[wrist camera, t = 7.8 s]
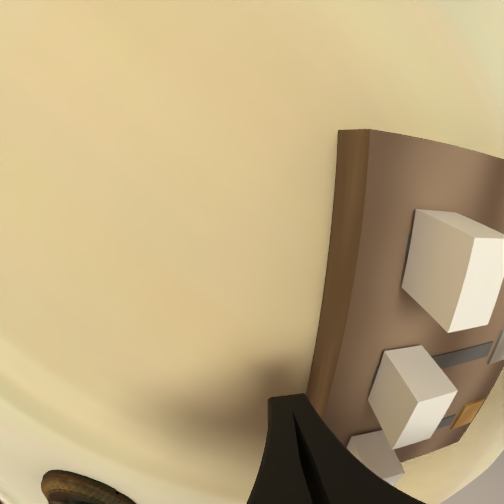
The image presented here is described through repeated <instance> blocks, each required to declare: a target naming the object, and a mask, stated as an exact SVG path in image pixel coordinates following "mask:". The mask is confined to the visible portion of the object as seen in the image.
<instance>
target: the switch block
mask: <svg viewBox="0 0 504 504" xmlns="http://www.w3.org/2000/svg"><path fill="white" fill-rule="evenodd" d="M416 209H422V210H434V211H446V212H456V213H458V214H461V215H463V216H465V217H467V218H470V219H472V220H474V221H476V222H479V223H481V224H483V225H485V226H487V227H489V228H492V229H494V230H496V231H498V232H500V233H502V234H504V159H501V158H497V157H494V156H491V155H487V154H484V153H480V152H477V151H473V150H469V149H465V148H461V147H457V146H453V145H449V144H445V143H441V142H436V141H432V140H427V139H422V138H417V137H412V136H407V135H402V134H396V133H390V132H384V131H378V130H371V129H357V130H338V149H337V166H336V181H335V194H334V205H333V216H332V227H331V236H330V246H329V255H328V263H327V271H326V279H325V287H324V294H323V301H322V308H321V315H320V321H319V328H318V334H317V340H316V346H315V352H314V358H313V363H312V369H311V374H310V379H309V385H308V390H307V395H306V396H307V398H308V399H309V401H310V403H311V404H312V406H313V407H314V409H315V410H316V412H317V413H318V415H319V416H320V417H321V419H322V420H323V421H324V423H325V424H326V425H327V427H328V428H329V429H330V430H331V431H332V433H333V434H334V435H335V436H336V437H337V439H338V440H339V441H340V442H341V443H342V444H343V445H344V446H345V447H346V448H347V446H348V444H349V441H350V439H351V437H352V436H357V435H362V434H367V433H371V432H376V431H380V430H382V427H381V425H380V423H379V421H378V419H377V417H376V415H375V413H374V411H373V409H372V407H371V405H370V403H369V401H368V398H369V395H370V392H371V390H372V387H373V384H374V381H375V378H376V375H377V372H378V369H379V366H380V363H381V360H382V357H383V354H384V351H388V350H395V349H401V348H407V347H413V346H419V345H422V346H423V347H424V349H425V350H426V351H427V352H428V354H429V355H430V356H431V357H432V358H433V360H434V361H435V362H436V363H437V365H438V366H439V367H440V368H441V370H442V371H443V372H444V373H445V375H446V376H447V377H448V378H449V380H450V381H451V382H452V383H453V385H454V386H455V387H456V389H457V390H458V391H457V393H456V395H455V397H454V399H453V401H452V402H451V404H450V406H449V408H448V409H447V411H446V413H445V415H444V416H443V418H442V420H441V421H440V423H439V425H438V426H437V428H436V430H435V431H434V433H433V434H432V436H431V437H430V438H429V439H426V440H423V441H420V442H417V443H413V444H410V445H407V446H404V447H400V448H397V449H394V451H395V453H396V455H397V457H398V459H399V461H400V462H403V461H406V460H409V459H412V458H415V457H418V456H421V455H424V454H427V453H430V452H432V451H435V450H438V449H440V448H443V447H445V446H448V445H450V444H453V443H455V442H458V441H459V440H460V438H461V437H462V435H463V434H464V432H465V431H466V430H467V428H468V427H469V425H470V424H471V422H472V421H473V419H474V417H475V416H476V414H477V413H478V411H479V410H480V408H481V406H482V405H483V403H484V401H485V400H486V398H487V396H488V395H489V393H490V391H491V389H492V387H493V386H494V384H495V382H496V380H497V378H498V376H499V375H500V373H501V371H502V369H503V367H504V278H503V281H502V284H501V288H500V291H499V294H498V297H497V300H496V303H495V306H494V309H493V312H492V314H491V317H490V320H489V323H488V325H484V326H479V327H475V328H470V329H465V330H460V331H455V332H450V333H447V332H446V331H445V330H444V329H443V328H442V327H441V326H440V325H439V323H438V322H437V321H436V320H435V319H434V318H433V317H432V316H431V315H430V314H429V313H428V312H427V311H426V310H424V309H423V308H422V307H421V306H420V305H419V304H418V303H417V302H416V301H415V300H414V299H413V298H412V297H411V296H410V295H409V294H408V293H407V292H406V291H405V290H404V289H403V288H402V283H403V278H404V273H405V269H406V264H407V259H408V254H409V248H410V243H411V237H412V231H413V225H414V218H415V212H416Z"/></svg>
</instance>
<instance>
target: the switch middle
mask: <svg viewBox="0 0 504 504" xmlns="http://www.w3.org/2000/svg"><path fill="white" fill-rule="evenodd" d="M457 391H458V390H457V389H456V387H455V386H454V385H453V383H452V382H451V381H450V380H449V378H448V377H447V376H446V375H445V373H444V372H443V371H442V370H441V368H440V367H439V366H438V365H437V363H436V362H435V361H434V360H433V358H432V357H431V356H430V355H429V354H428V352H427V351H426V350H425V349H424V347H423V346H422V345H419V346H413V347H407V348H401V349H395V350H388V351H384V354H383V357H382V360H381V363H380V366H379V369H378V372H377V375H376V378H375V381H374V384H373V387H372V390H371V392H370V395H369V398H368V401H369V403H370V405H371V407H372V409H373V411H374V413H375V415H376V417H377V419H378V421H379V423H380V425H381V427H382V430H383V432H384V434H385V436H386V438H387V440H388V442H389V444H390V446H391V448H392V450H393V449H397V448H400V447H404V446H407V445H410V444H413V443H417V442H420V441H423V440H426V439H429V438H430V437H431V436H432V434H433V433H434V431H435V430H436V428H437V426H438V425H439V423H440V421H441V420H442V418H443V416H444V415H445V413H446V411H447V409H448V408H449V406H450V404H451V402H452V401H453V399H454V397H455V395H456V393H457Z"/></svg>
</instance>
